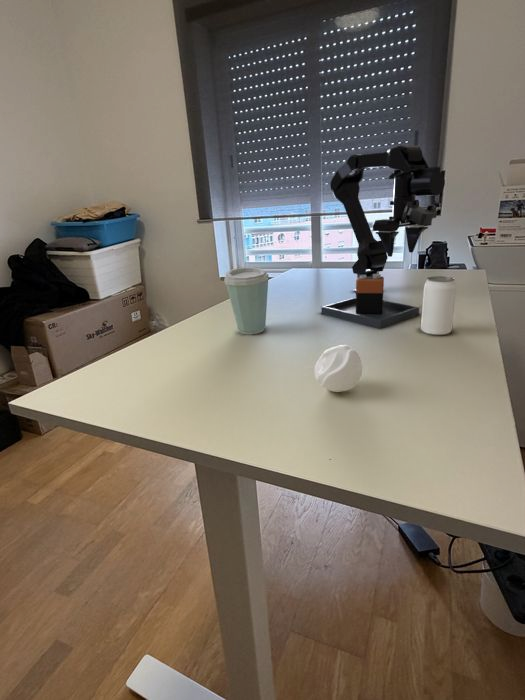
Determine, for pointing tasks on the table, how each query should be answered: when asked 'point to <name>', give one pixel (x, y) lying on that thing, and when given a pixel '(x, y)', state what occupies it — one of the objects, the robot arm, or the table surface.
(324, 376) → the white ball
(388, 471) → the table surface
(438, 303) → the can
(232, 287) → the disposable coffee cup
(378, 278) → the battery
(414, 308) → the tray
